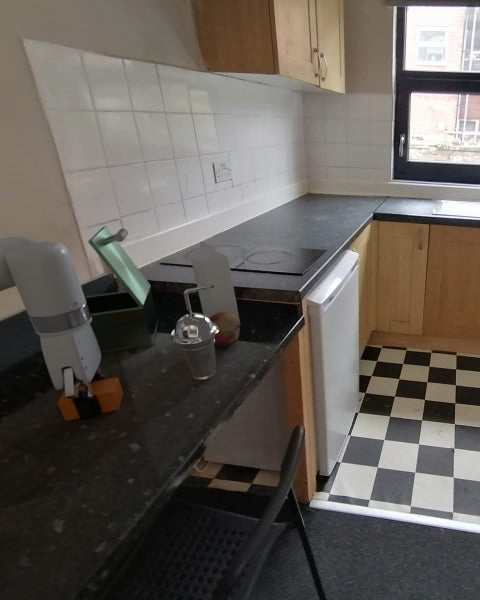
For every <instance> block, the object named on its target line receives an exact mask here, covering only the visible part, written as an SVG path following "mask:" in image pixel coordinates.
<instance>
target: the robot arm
mask: <svg viewBox="0 0 480 600" xmlns="http://www.w3.org/2000/svg"><path fill="white" fill-rule="evenodd" d="M14 287H16V289H17V291H18V294H19V296H20V299H21V301H22V304H23V306H24V308H25V310H26V313H27V315H28V318H29V320H30V322H31V325H32V327H33V330H34V332H35V334H36V335H38V336H39V341H40V342H39V343H40V346H41V352H42V355H43V359H44V362H45V365H46V368H47V371H48V374H49V378H50V379H51V383H52V385H53V388H54V389H55V390H57V391H60V390H63V389H64V391H65V396H66V398H68V399H71V400H72V402H74V405H75V407H76V410H77V412H78V414H79V417H80V418H79V419H81V420H83V419H87V418H92V417H96V416H100V415H102V414H103V413H102V410H101V407H100V404H99V402H98V399H97V396H96V395H93V392H92V388H91V384H90V382H95V381H100V380H105V377H104V376H103V375H104V374H103V371H102V369H101V367H100V364H101V361H102V355H101V352H100V349H99V345H98V343H97V340H96V337H95V335H94V332H93V330H92V328H91V326H90V323H91V321H92V317H91V314H90V311H89V309H88V306H87V303H86V300H85V297H84V296H85V294H84V292H83V289H82V285H81V283H80V280H79V276H78V274H77V271H76V268H75V265H74V262H73V259H72V256H71V254H70V251H69V249H68V248H67V247H66V245H65V244H62V243H60V242H58V241H38V240H33V239H31V238H27V237H24V236H9V237H8V236H7V237H3V238H0V292H3V291H6V290H8V289H10V288H14ZM78 380H80V381H78ZM80 386H85V390H86V391H84V390H78V389H77V387H80Z"/></svg>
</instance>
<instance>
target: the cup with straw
mask: <svg viewBox="0 0 480 600" xmlns="http://www.w3.org/2000/svg"><path fill="white" fill-rule="evenodd" d="M211 288H214V287H213V285H207V286H202V287H197V286H196V287H193V288H187V289H185V290H184V291H183V297H184V298H183V299H184V302H185V307H186V311H187V314H184V315H183V316H182V317H180V318H179V319H178V320H177V322H176V323H175V326H174V329H173V330H172V332H171V333H170V336H171V337H170V339H171V341H172V342H173V343H175V344H177V346H178V347H179V350H180V351H181V352H182V355H183V357H184V360H185V362H186V364H187V367H188V369H189V372H190V374H191V375H192V379H193V380H194V381H196V382H202V381H203V382H204V381H208V380H210V379H213V378H214V377H215V376H216V375H217V373H218V370H217V358H216V357H217V356H216V346H215V335H216V334H217V332H218V330H219V329H218V327H217V324H216V323H214V322H212V321H211V320H210V319H209V318H208V317H207V316H205V315H204V314H203V313H201V312H200V313H199V312H193V311H192V306H191V303H190V299H189V294H191V293H195V292H198V291H201V290H206V289H211Z"/></svg>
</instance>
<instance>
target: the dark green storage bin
mask: <svg viewBox="0 0 480 600" xmlns="http://www.w3.org/2000/svg"><path fill="white" fill-rule="evenodd" d="M84 297H85V300H86V303H87V306H88V309H89V311H90V314H91V317H92V321H91V323H90V326H91V328H92V330H93V332H94V335H95V337H96V340H97V343H98V345H99V349H100V352H101V356H104V355H105V356H106V355H111V354H115V353H117V354H118V353H121V352H128V351H133V350H139V348H140V349H144V347H145V348H150V347H149V346H151V347H153V346H154V345H155V340H156V337H157V333H158V329H159V326H160V320H159V317H158V312H157V310H156V306H155V303H154V299H153V294H152V291H151V288H150V289H149V292H148V294H147V297H146V299H145V302H144V305H143V306H141V307H140V306H139V305H138V304H137V303H136V301H135V300H134V299H133V298H132V296H131V295H130V294H129V293H128V291H127V290H124V291H115V292H109V293H100V294H93V295H84Z"/></svg>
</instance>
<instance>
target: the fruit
mask: <svg viewBox="0 0 480 600" xmlns="http://www.w3.org/2000/svg"><path fill="white" fill-rule="evenodd" d="M209 319H210V320H211V321H212V322H214V323H216V324H217V327H218V329H219V330H218V332H217V334H216V335H215V347H220V348H227V347H230V346H232V345H234V344H235V343H236V342H237V341H238V339H239V338H240V334H241V333H240V331H241V330H240V325H239V320H240V319H239V320H238V318H237V317H236V316H235V315H233V314H230V313H228V312H221V313H217V314H215V315H213V316H211V317H210V318H209Z"/></svg>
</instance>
